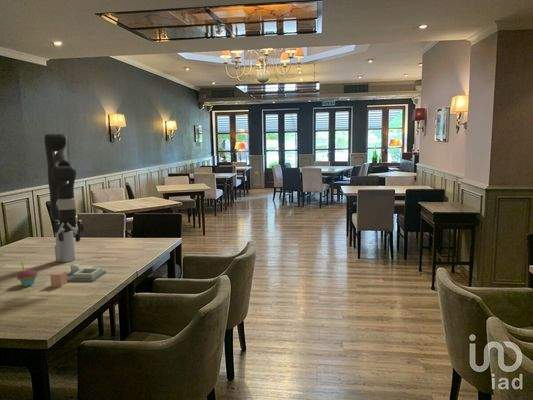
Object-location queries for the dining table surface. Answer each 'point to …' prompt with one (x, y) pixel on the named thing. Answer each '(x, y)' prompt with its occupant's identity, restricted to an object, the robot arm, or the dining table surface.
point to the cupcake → (27, 276)
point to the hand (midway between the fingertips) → (69, 241)
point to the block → (58, 278)
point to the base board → (84, 274)
